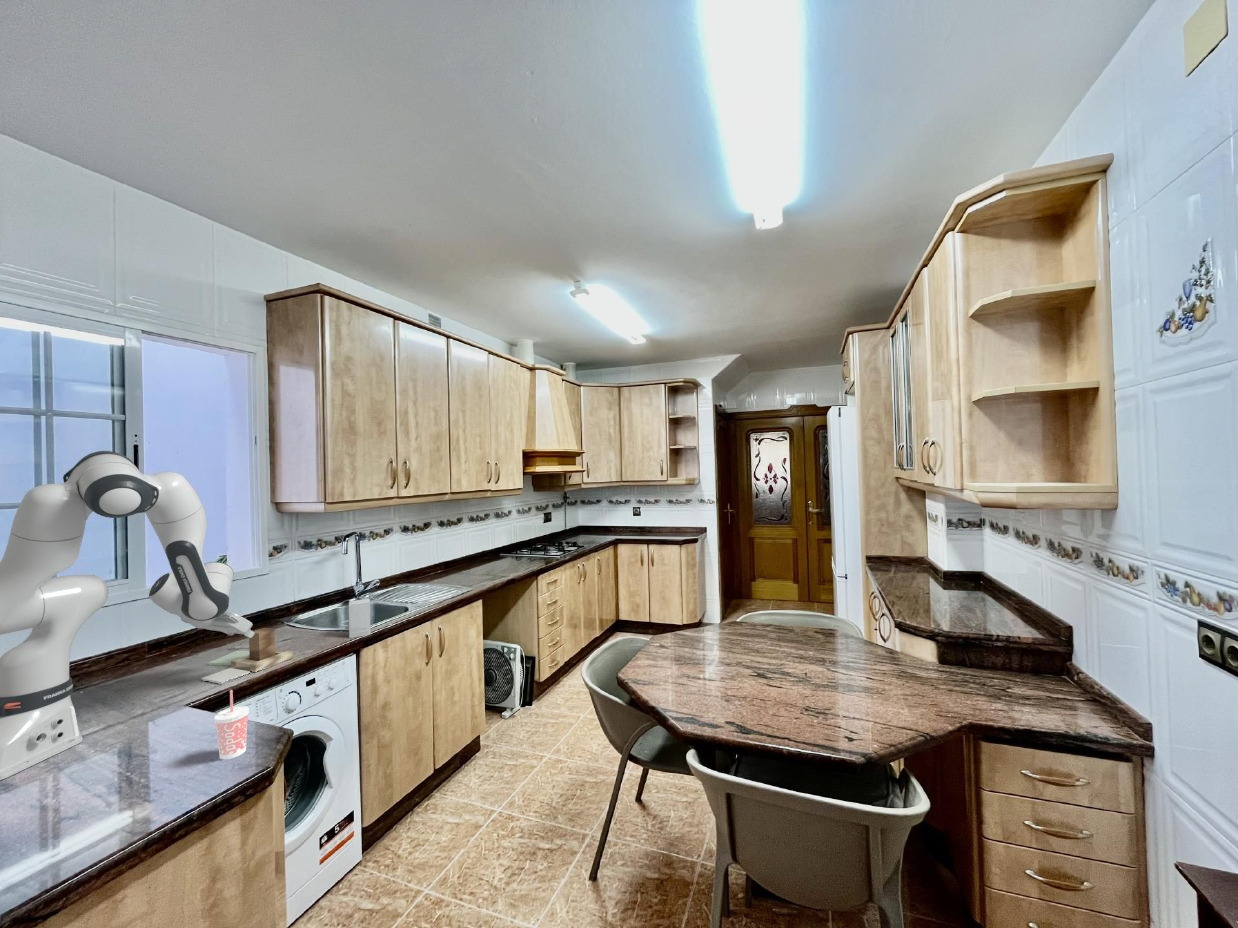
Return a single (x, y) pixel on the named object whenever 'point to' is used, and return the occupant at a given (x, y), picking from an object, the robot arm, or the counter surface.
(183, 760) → the counter surface
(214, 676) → the puzzle board
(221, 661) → the coaster
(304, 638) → the counter surface
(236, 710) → the beverage cup
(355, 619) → the supplement box
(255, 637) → the walnut block
